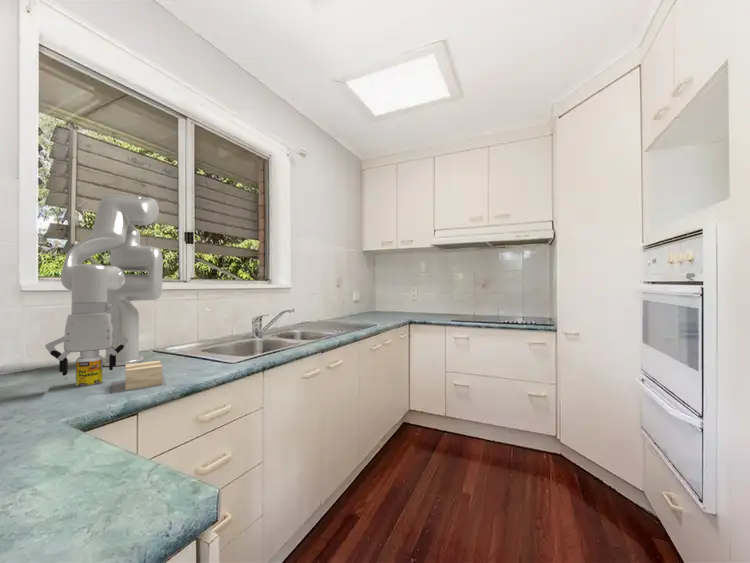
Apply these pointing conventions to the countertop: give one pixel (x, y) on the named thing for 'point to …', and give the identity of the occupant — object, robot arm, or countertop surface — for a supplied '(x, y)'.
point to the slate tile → (121, 387)
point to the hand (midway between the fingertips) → (88, 371)
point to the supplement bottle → (89, 368)
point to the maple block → (143, 374)
